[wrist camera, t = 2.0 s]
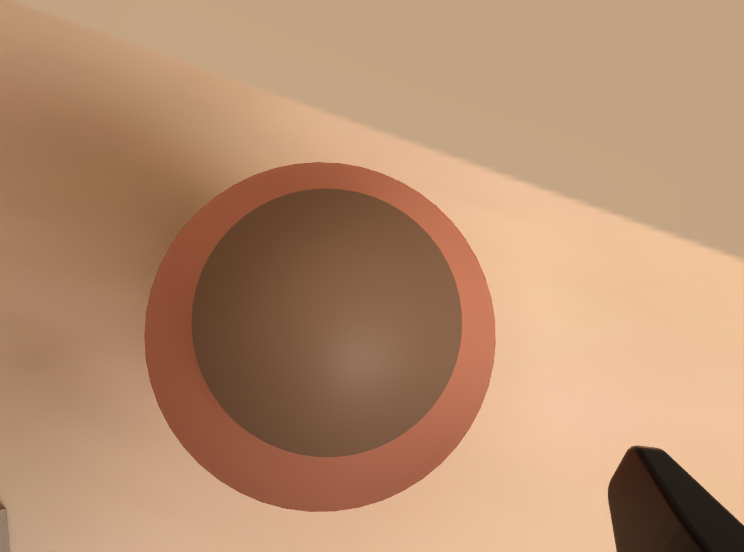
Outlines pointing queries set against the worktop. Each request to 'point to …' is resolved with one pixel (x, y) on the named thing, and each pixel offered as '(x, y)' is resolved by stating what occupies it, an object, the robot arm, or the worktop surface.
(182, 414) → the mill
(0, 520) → the socket board
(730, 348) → the worktop surface
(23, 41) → the worktop surface
